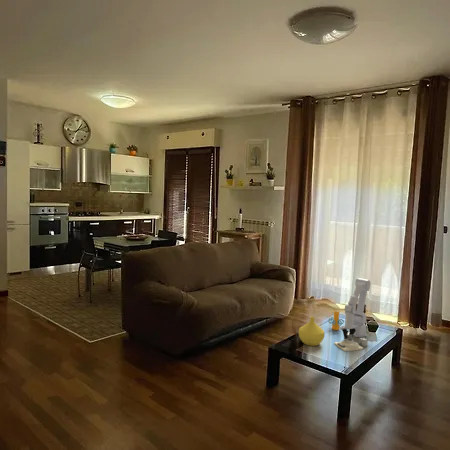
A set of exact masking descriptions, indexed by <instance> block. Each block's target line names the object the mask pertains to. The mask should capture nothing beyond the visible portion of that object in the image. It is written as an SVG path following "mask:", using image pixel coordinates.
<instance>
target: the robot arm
mask: <svg viewBox="0 0 450 450" xmlns="http://www.w3.org/2000/svg"><path fill="white" fill-rule="evenodd" d="M354 284H355V289H354V292H353V295H351V296H350V298H349V301H348V303H347V304H345V307H344V314H345V318H344V319H345V320H344V324H343V325H341V326H340V327H339V331H342V334H343V339H344V338H345V339H347V334H348V333H351V334H352V338H353V337H356V338H365V337H367V327H366V325H365V323H367V315H366V313H364V312H363V311H364V305H366V299H367V293H368V292H369V291H370V288H371V281H370V279H365V278H360V277H357V278H355V283H354ZM356 304H358V306H357V311H356ZM357 314H358V315H357ZM359 315H361V316H359Z"/></svg>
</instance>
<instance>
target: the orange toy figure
mask: <svg viewBox="0 0 450 450" xmlns="http://www.w3.org/2000/svg"><path fill="white" fill-rule="evenodd" d="M327 321H328V323H329V324H331V329H332V330H333V331H340V326H343V325H344V324H345V320H344V319H343V318H340V310H338V309H337V310H336V309H335V310H334V311H333V316H331V318H328V320H327Z"/></svg>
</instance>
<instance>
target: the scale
mask: <svg viewBox="0 0 450 450" xmlns="http://www.w3.org/2000/svg"><path fill="white" fill-rule="evenodd" d="M333 344H334V345H335V346H336V347H338V348H340V350H341V351H344V352H351V351H363V350H364V347H362V346H360V345H359V342H356V341H353V340H352V341H348V340H341V341H336V342H335V341H334V343H333Z"/></svg>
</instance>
